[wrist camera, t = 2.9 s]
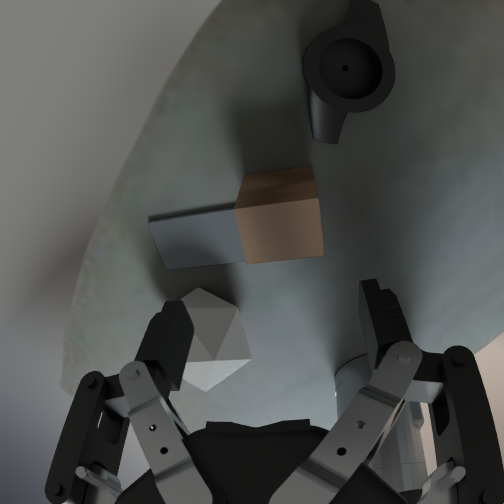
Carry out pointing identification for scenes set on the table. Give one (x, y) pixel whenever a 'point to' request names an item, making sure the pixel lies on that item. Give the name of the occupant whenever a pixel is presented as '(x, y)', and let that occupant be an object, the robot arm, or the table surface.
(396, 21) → the table surface
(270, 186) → the brown rectangular block
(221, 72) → the table surface
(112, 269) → the table surface
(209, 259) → the pad
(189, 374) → the die
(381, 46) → the black round bracket
